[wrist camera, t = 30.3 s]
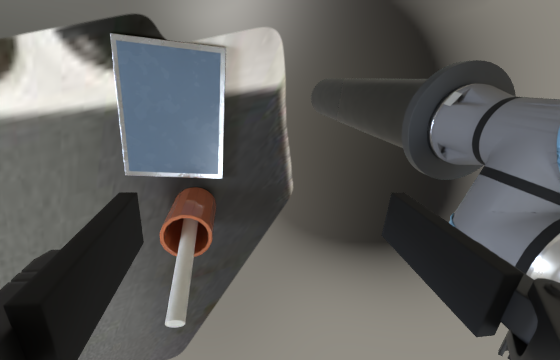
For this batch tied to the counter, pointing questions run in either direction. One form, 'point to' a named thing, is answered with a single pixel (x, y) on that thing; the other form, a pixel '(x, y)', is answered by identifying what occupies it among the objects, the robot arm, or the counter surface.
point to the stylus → (182, 275)
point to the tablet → (170, 106)
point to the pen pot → (192, 206)
